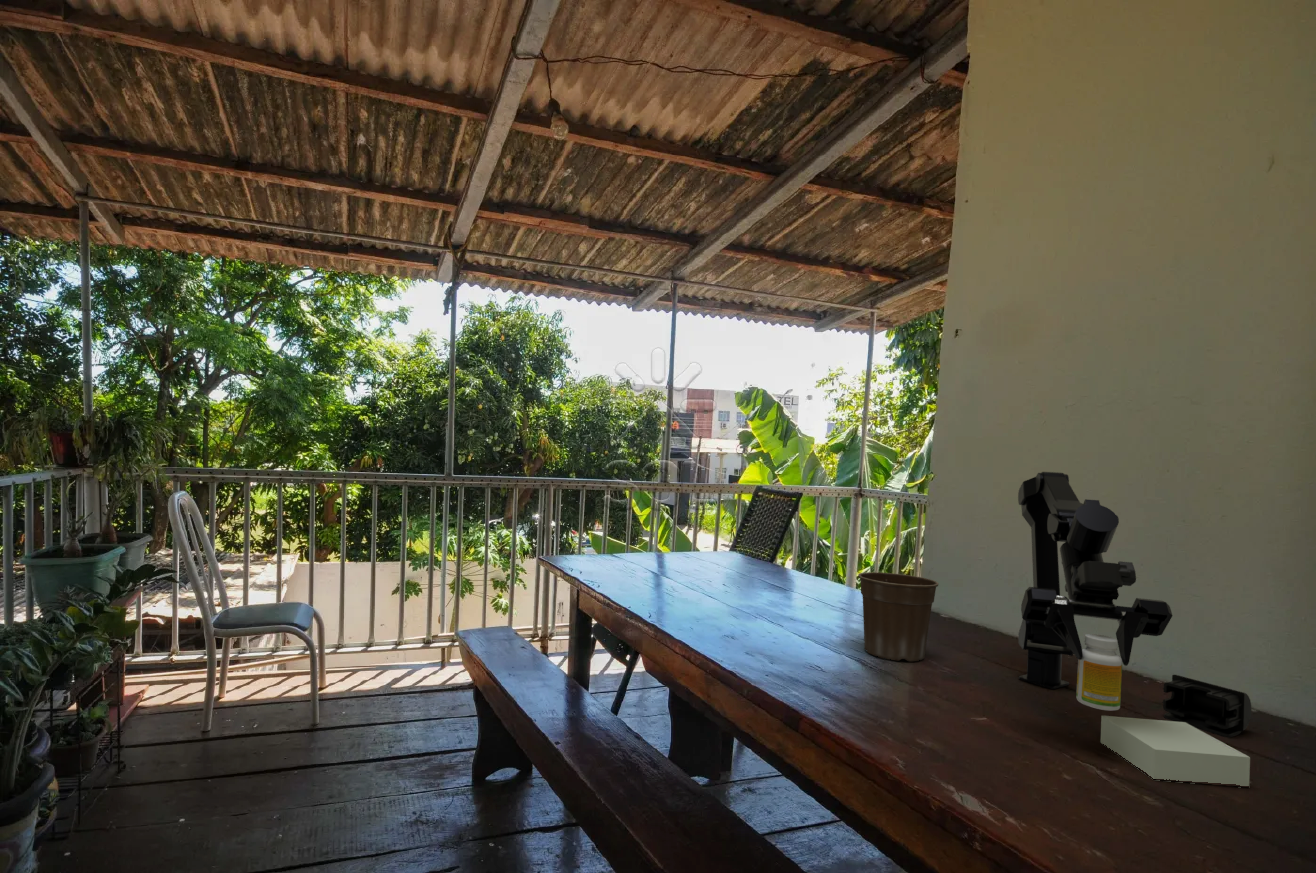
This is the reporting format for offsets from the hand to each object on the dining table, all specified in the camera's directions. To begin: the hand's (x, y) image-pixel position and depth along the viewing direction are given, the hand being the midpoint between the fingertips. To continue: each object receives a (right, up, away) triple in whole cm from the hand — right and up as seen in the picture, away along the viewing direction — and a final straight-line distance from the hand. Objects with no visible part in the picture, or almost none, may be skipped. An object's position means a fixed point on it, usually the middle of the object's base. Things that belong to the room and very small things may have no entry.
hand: (1103, 661), depth 98 cm
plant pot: (-14, -14, +47) cm, 51 cm away
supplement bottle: (0, -7, +1) cm, 7 cm away
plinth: (+8, -14, -2) cm, 16 cm away
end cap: (+27, -16, +15) cm, 34 cm away
